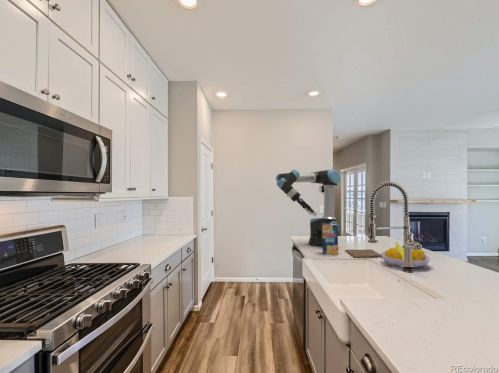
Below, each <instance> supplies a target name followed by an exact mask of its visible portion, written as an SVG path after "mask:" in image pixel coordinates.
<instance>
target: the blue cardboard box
mask: <svg viewBox="0 0 499 373" xmlns="http://www.w3.org/2000/svg"><path fill="white" fill-rule="evenodd" d="M338 232H339V230H338V225H337V224H322V238H323V246H322V255H326V254H329V256H330V255H331V256H334V255H335V256H338V255H339V236H338V235H339V233H338Z"/></svg>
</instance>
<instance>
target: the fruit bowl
mask: <svg viewBox="0 0 499 373" xmlns="http://www.w3.org/2000/svg"><path fill="white" fill-rule="evenodd" d="M404 250H405V249H404V248H403V247H402V246H401V245H399V244H398V241H397V242H395V247H390V248H389V249H387V250H385V251H383V252H380V253H379V254H381V256H382V258H381V259H383V260H384V261H385V262H387V263H389V264H390V265H393V264H394V265H393V266H396V265H398V266H397V267H400V266H403V265H404V260H403V257H404ZM430 261H431V257H429V256H428V255H426V254H425V251H424V250H422V249H421V250H412V266H413V267H412V268H420V267H422V266H427V265H428V264H429V262H430ZM419 266H420V267H419Z"/></svg>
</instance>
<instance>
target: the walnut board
mask: <svg viewBox="0 0 499 373" xmlns="http://www.w3.org/2000/svg"><path fill="white" fill-rule="evenodd" d="M344 251H345V253H346V254H348V255H349V256H351V258H354V259H375V258H374V257H382V256H381V254H380V253H379V252H377V251H375V250H374V249H344Z"/></svg>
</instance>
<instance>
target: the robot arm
mask: <svg viewBox="0 0 499 373" xmlns="http://www.w3.org/2000/svg"><path fill="white" fill-rule="evenodd" d="M275 180H276V186H277V187H278V188H279V189H280V190H281V191H282V192H283V193H284V194H285V195H286V197H288V198H290V200H291V201H293V202H296V203H298V205H299V206H300V207H302V209H304V210H305V211H306V212H307V214H308V215H311V216H314V217H316V216H317V215H318V213H317V212H316V211H315V210H314V209H313V208H312V207H311V206H310V205H309V204H308V203H307V202H306V201H305V200H303V197H302V198H301V193H300V192H298V191H297V190H296V188H295V187H293V185H294V183H311V184H321V185H322V187H323V188H324V192H323V195H324V196H323V201H324V202H323V216H322V217H316V218H314V217H313V218H311V219H310V220H309V222H310V223H309V228H310V229H309V231H310V232H309V234H310V235H309V240H308V245H309V246H314V247H323V238H322V224H337V225H338V231H339V229H340V224H339V222H338V221H337V217H336V216H335V206H336V205H335V204H336V187H338V184H339V183H340V182H341V174H340V172H339V171H338V170H336V169H325V170H318V171H312V172H307V173H302V172H301V173H300V172H299V171H298V170H296V169H292V170H290V172H286V173H285V172H284V173H278V174H277V175H276V177H275Z"/></svg>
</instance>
